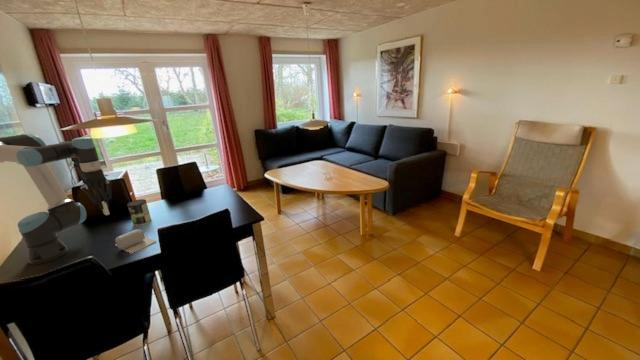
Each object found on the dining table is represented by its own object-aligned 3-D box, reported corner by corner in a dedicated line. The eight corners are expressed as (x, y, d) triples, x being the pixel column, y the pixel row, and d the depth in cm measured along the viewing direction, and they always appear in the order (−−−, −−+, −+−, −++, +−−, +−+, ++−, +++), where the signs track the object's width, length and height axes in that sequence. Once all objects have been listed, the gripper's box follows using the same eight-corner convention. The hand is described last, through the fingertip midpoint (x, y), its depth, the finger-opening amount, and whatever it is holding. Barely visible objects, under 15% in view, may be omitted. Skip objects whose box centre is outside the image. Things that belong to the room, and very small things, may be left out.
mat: (131, 254, 140) (131, 253, 140) (115, 245, 149) (115, 244, 149) (156, 241, 150) (156, 241, 150) (139, 234, 160) (139, 233, 159)
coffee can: (138, 227, 169) (132, 206, 165) (130, 223, 175) (124, 203, 170) (154, 220, 178) (149, 200, 173) (146, 217, 183) (141, 198, 178)
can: (120, 243, 139) (145, 233, 148) (113, 235, 141) (138, 225, 151) (122, 253, 142) (146, 242, 152) (115, 244, 145) (139, 234, 154)
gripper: (78, 174, 122) (94, 221, 129) (111, 167, 132) (124, 210, 140) (71, 172, 125) (88, 217, 133) (104, 165, 136) (117, 207, 144)
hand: (106, 214), depth 136 cm, fingers closed
